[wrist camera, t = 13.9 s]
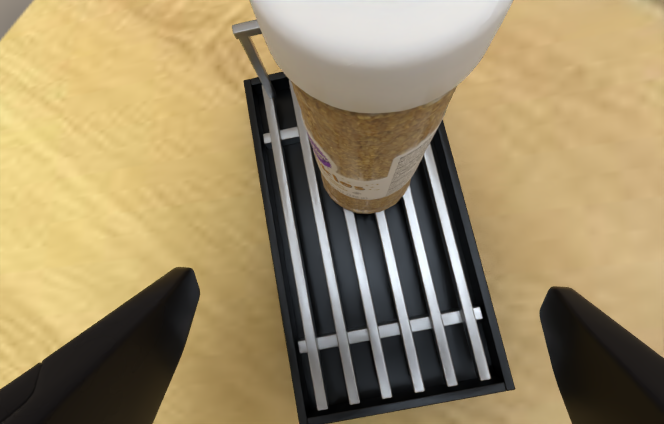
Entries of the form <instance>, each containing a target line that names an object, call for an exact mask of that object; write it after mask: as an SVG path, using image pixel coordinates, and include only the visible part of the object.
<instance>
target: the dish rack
mask: <svg viewBox="0 0 664 424" xmlns="http://www.w3.org/2000/svg"><path fill="white" fill-rule="evenodd" d="M232 29H233V34H234V36H235V38H236V39H239V40H240V42H241V44H242V46H243V48H244V50H245V52H246V54H247V56H248V58H249V60H250V62H251V64H252V65H253V67H254V69H255V71H256V73H257V75H258V77H257V78H252V79H251V80H250V79H248V80H244V87H245V93H246V99H247V105H248V111H249V118H250V124H251V130H252V136H253V142H254V148H255V154H256V161H257V167H258V173H259V179H260V185H261V191H262V197H263V204H264V210H265V216H266V222H267V228H268V234H269V241H270V247H271V253H272V259H273V265H274V271H275V277H276V284H277V290H278V296H279V302H280V308H281V314H282V320H283V327H284V333H285V339H286V345H287V351H288V357H289V364H290V370H291V376H292V382H293V388H294V394H295V400H296V407H297V413H298V419H299V424H328V423H333V422H339V421H344V420H350V419H355V418H361V417H366V416H372V415H377V414H383V413H388V412H394V411H399V410H405V409H410V408H416V407H421V406H427V405H432V404H438V403H443V402H449V401H454V400H460V399H465V398H471V397H476V396H482V395H487V394H493V393H498V392H504V391H506V390H507V391H509V390H514V389H515V386H514V383H513V379H512V375H511V372H510V368H509V364H508V360H507V357H506V353H505V349H504V346H503V342H502V338H501V334H500V331H499V327H498V323H497V320H496V316H495V312H494V308H493V305H492V301H491V297H490V294H489V290H488V286H487V282H486V279H485V275H484V271H483V267H482V264H481V260H480V256H479V253H478V249H477V245H476V241H475V238H474V234H473V230H472V227H471V223H470V219H469V215H468V212H467V208H466V204H465V201H464V197H463V193H462V189H461V186H460V182H459V178H458V175H457V171H456V167H455V163H454V160H453V156H452V152H451V148H450V145H449V141H448V137H447V134H446V130H445V126H444V122H443V119H442V121H441V123H440V125H439V127H438V129H437V131H436V132H435V134H434V136H433V138H432V140H431V142H430V144H429V146H428V147H427V149H426V151H425V153H424V155H423V157H422V159H421V161H420V163H419V165H418V167H417V169H416V171H415V173H414V174H413V176H412V177H411V181H410V184H409V187H408V189H407V191H406V192H405V194H404V195H403V196H402V197H401V198H400V199H399V201H398V202H397V203H396V204H395V205H393V206H391V207H389V208H387V209H385V210H383V211H380V212H375V213H371V214H363V213H356V212H352V211H350V210H347V209H345V208H343V207H341V206H340V205H339V204H337V203H336V202H335V201H334V200H333V199H332V198H331V197H330V196H329V194H328V192H327V191H326V189H325V187H324V184H323V181H322V177H321V171H320V169H319V166H318V164H317V161H316V158H315V155H314V151H313V148H312V145H311V142H310V140H309V137H308V134H307V131H306V129H305V126H304V123H303V119H302V115H301V108H300V106H299V104H298V101H297V98H296V95H295V92H294V90H293V85H292V83H291V80H290V79H289V78H288V77H287V76H286V75H285V74H284V72H279V73H275V74H270V75H268V74H267V72H266V70H265V67H264V65H263V63H262V61H261V59H260V57H259V54H258V52H257V50H256V48H255V46H254V44H253V41H252V39H251V37H250V36H254V35H258V34H262V32H261V29H260V27H259V24H258V22H257V20H252V21H248V22H244V23H239V24H235V25H232Z"/></svg>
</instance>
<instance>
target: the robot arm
mask: <svg viewBox="0 0 664 424" xmlns="http://www.w3.org/2000/svg"><path fill="white" fill-rule="evenodd" d="M199 297H200V289H199V286H198V283H197V279H196V276H195V273H194V271H193V269H192V268H186V267H176V268H174V269H173V270H171V271H170V272H168V273H167V274H165V275H164V276H163V277H161V278H160V279H158V280H157V281H155V282H154V283H153V284H151V285H150V286H148V287H147V288H145V289H144V290H143V291H141V292H140V293H138V294H137V295H135V296H134V297H133V298H131V299H130V300H128V301H127V302H125V303H124V304H123V305H121V306H120V307H118V308H117V309H115V310H114V311H113V312H111V313H110V314H108V315H107V316H105V317H104V318H103V319H101V320H100V321H98V322H97V323H95V324H94V325H93V326H91V327H90V328H88V329H87V330H85V331H84V332H83V333H81V334H80V335H78V336H77V337H75V338H74V339H73V340H71V341H70V342H68V343H67V344H65V345H64V346H63V347H61V348H60V349H58V350H57V351H55V352H54V353H52V354H51V355H50V356H48V357H47V358H45V359H44V360H43V361H42V363H38V364H37V365H35V366H34V367H32V368H31V369H29V370H28V371H27V372H25V373H24V374H22V375H21V376H19V377H18V378H16V379H15V380H13V381H12V382H11V383H9V384H8V385H6V386H5V387H3V388H2V389H0V424H152V423H153V421H154V419H155V416H156V414H157V412H158V409H159V407H160V405H161V402H162V400H163V398H164V395H165V393H166V391H167V388H168V386H169V384H170V381H171V379H172V377H173V374H174V372H175V369H176V367H177V365H178V362H179V360H180V358H181V355H182V352H183V350H184V347H185V344H186V341H187V337H188V334H189V331H190V327H191V324H192V321H193V317H194V314H195V311H196V307H197V304H198V301H199ZM540 320H541V324H542V328H543V332H544V336H545V340H546V344H547V348H548V352H549V356H550V360H551V364H552V368H553V372H554V375H555V378H556V381H557V384H558V387H559V390H560V393H561V395H562V398H563V401H564V403H565V406H566V409H567V411H568V414H569V417H570V419H571V422H572V424H664V358H663V357H661V356H660V355H659V354H657V353H656V352H655V351H654V350H652V349H651V348H650V347H648V346H647V345H646V344H644V343H643V342H642V341H640V340H639V339H638V338H636V337H635V336H634V335H632V334H631V333H630V332H629V331H627V330H626V329H625V328H623V327H622V326H621V325H619V324H618V323H617V322H615V321H614V320H613V319H611V318H610V317H609V316H607V315H606V314H605V313H604V312H602V311H601V310H600V309H598V308H597V307H596V306H594V305H593V304H592V303H590V302H589V301H588V300H586V299H585V298H584V297H582V296H581V295H580V294H579V293H577V292H576V291H575V290H573V289H572V288H569V287H555V286H554V287H551V288H550V289H549V291H548V293H547V295H546V297H545V299H544V301H543V304H542V306H541V308H540Z"/></svg>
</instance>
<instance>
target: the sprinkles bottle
mask: <svg viewBox="0 0 664 424" xmlns="http://www.w3.org/2000/svg"><path fill="white" fill-rule="evenodd" d="M512 2H513V0H250V3H251V6H252V8H253V11H254V14H255V16H256V19H257V22H258V24H259V27H260V29H261V32H262V34H263V37H264V39H265V41H266V44H267V46H268V48H269V51H270V53H271V55H272V56H273V58H274V60H275V62H276V63H277V65H278V66H279V67H280V69H281V70H282V71H283V72H284V74H285V75H286V76H287V77H288V78H289V79H290V80H291V83H292V85H293V90H294V92H295V95H296V98H297V101H298V104H299V106H300V108H301V115H302V119H303V123H304V126H305V129H306V131H307V134H308V137H309V140H310V142H311V145H312V148H313V151H314V155H315V158H316V161H317V164H318V166H319V169H320V171H321V177H322V181H323V184H324V187H325V189H326V191H327V192H328V194H329V196H330V197H331V198H332V199H333V200H334V201H335V202H336V203H337V204H339V205H340V206H341V207H343V208H345V209H347V210H350V211H352V212H356V213H363V214H371V213H375V212H380V211H383V210H385V209H387V208H389V207H391V206H393V205H395V204H396V203H397V202H398V201H399V199H400V198H401V197H402V196H403V195H404V194H405V192H406V191H407V189H408V187H409V184H410V181H411V177H412V176H413V174H414V173H415V171H416V169H417V167H418V165H419V163H420V161H421V159H422V157H423V155H424V153H425V151H426V149H427V147H428V146H429V144H430V142H431V140H432V138H433V136H434V134H435V132H436V131H437V129H438V127H439V125H440V123H441V121H442V119H443V117H444V115H445V112H446V109H447V106H448V103H449V102H450V100H451V97H452V95H453V93H454V91H455V89H456V87H457V85H458V84H459V83H461V82H462V81H463V80H464V79H465V78H466V77H467V76H468V75H469V74H470V73H471V72H472V71H473V69H474V68H475V67H476V66H477V64H478V63H479V62H480V60H481V59H482V57H483V56H484V54H485V52H486V51H487V49H488V47H489V45H490V43H491V41H492V40H493V38H494V36H495V34H496V33H497V31H498V29H499V27H500V26H501V24H502V22H503V20H504V18H505V16H506V14H507V12H508V10H509V8H510V6H511V4H512Z"/></svg>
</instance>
